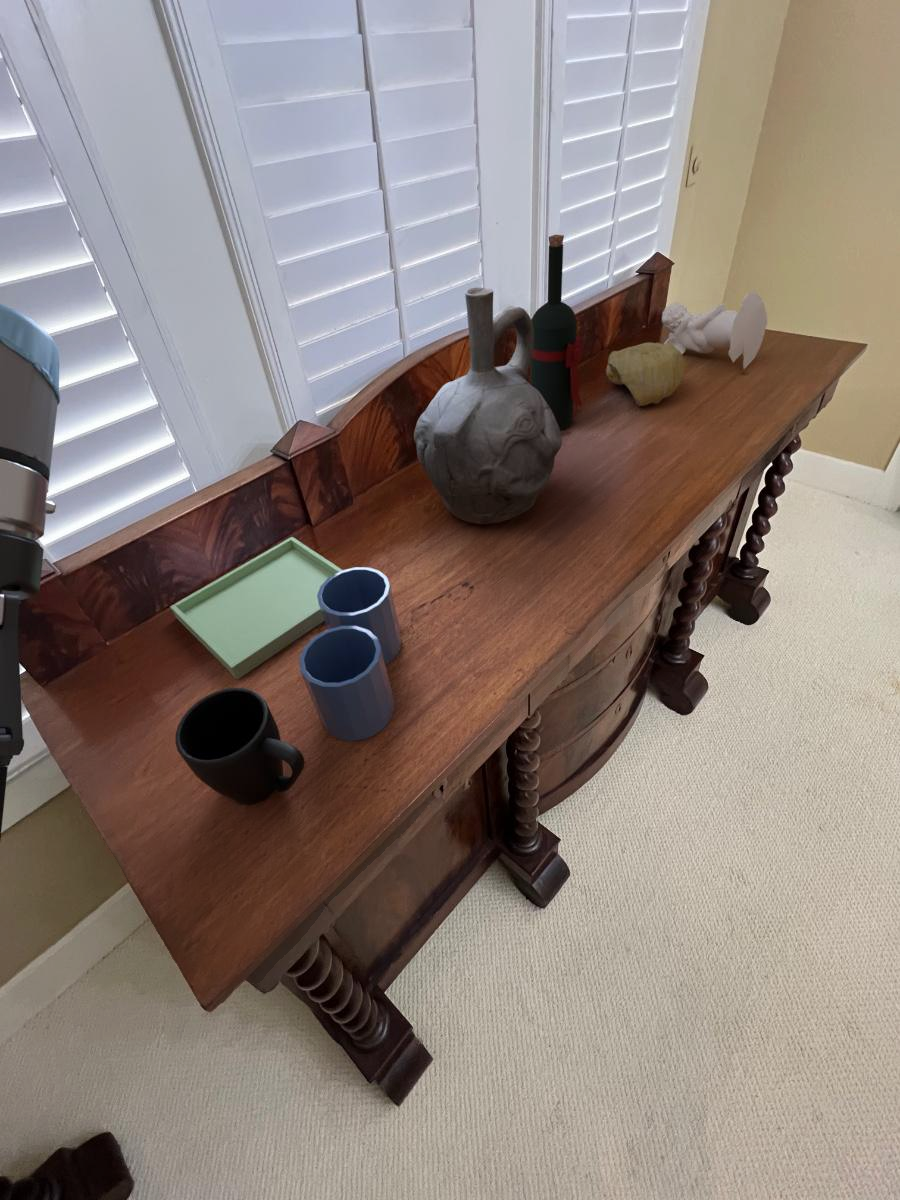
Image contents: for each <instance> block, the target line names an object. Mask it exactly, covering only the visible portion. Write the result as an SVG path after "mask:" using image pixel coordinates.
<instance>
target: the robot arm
mask: <svg viewBox="0 0 900 1200" xmlns="http://www.w3.org/2000/svg"><path fill="white" fill-rule="evenodd" d="M60 394H61V393H60V354H59V349H58V346H57V344H56V343H55V340H54V339H53V337H52V336H51V335H50V333H48V331H47V330H46V329H45V328H44V327H42V326H41V325H40V324H39V323H38V322H36V321H35V320H33V319H32V318H31V317H29V316H27V315H26V314H24V313H22V312H20V311H19V310H17V309H14V308H11V307H9V306H7V305H4V304H1V303H0V841H2V840H1V839H2V829H3V819H4V809H5V798H6V791H7V790H6V788H7V778H8V769H9V766H10V764H11V762H12V759H13V758H14V757H15V756H20V755H21V753H22V751H23V749H24V746H25V739H24V732H23V711H22V710H23V709H22V692H21V691H22V690H21V689H22V688H21V669H20V668H21V666H20V647H19V620H20V619H19V618H20V610H21V608H22V601H21V600H27V599H28V600H29V599H31V598H33V597H36V596H37V595H38V594H39V592H40V590H41V582H42V571H43V559H44V548H43V547H42V546H41V544H40V543H39V542H38V541H37V540H39V539H40V538H42V537H43V536H45V528H46V518H47V515H53V514H54V513H55V512H56V508H57V504H56V503H55V502H54V501H51V500H49V499H47V496H48V493H49V486H50V485H49V484H50V476H51V474H50V473H51V467H52V466H51V465H52V459H53V458H52V457H53V450H54V449H53V448H54V439H55V431H56V424H57V423H56V421H57V413H58V406H59V404H60V402H61V395H60Z"/></svg>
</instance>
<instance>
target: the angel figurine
mask: <svg viewBox="0 0 900 1200" xmlns="http://www.w3.org/2000/svg"><path fill="white" fill-rule="evenodd" d="M725 309H726V304H725V303H721V304H718V305H717V306H715V307H714V308H712V309H710V310H708V311H707V312H706V313H705V312H704V313H703V314H701V313H695V314H692V313H691V312H688V307H687V306H684V305H683V304H681V303H679V302H677V301H674V302H671V303H670V304H668V306H666V307H664V309H663V311H662V314H661V322H662V324H663V325H664V328H667V329H669V331H672V332H670V333H669V334H668V338H667V339H666V340H665V341H664V343H663V344H668V343H670V344H672V345H673V346H674V347H675V348H677V349H678V350H679V351H680V352H681V354H682V355H684V353H685V352H686V351H687V350H690V351H694V352H697V353H700V354H710V353H712V352H713V351H714V350H715V348H716V349H721V350H724V349H725V350H727V349H729V350H728V351H727V352H728V357H729V358H730V359H731V361H732V363H735V361H736V360H737V359H738V358H739V357H740V356H741V355H742V356H743V361H742V369H743V370H745V369H746V368H747V367H748V366H749V365H750V364H751V363H752V362H753V360H755V358H756V357H757V355H758V352H759V350H760V348H761V346H762V343H763V340H764V337H765V332H766V329H767V325H768V313H767V310H766V307H765V304H764V302H763V299H762V298H761V296H760V295H759V294H758V293H756V289H753V290H751V291H750V292H749V293H748V292H746V294H745V295H744V297H743V299H742V305H741V306H740V309H739V310H738V311H736V310H734V309H727V310H725Z"/></svg>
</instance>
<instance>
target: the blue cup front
mask: <svg viewBox="0 0 900 1200" xmlns="http://www.w3.org/2000/svg"><path fill="white" fill-rule="evenodd" d="M298 664H299V670H300V674H301V676H302V679H303V681H304V684H305V686H306V689H307V691H308V693H309V695H310V698H311V702H312V703H313V706H314V708H315V711H316V713H317V716H318V718H319V721H320V723H321V724H322V726H323V728H324V729H325V731H326V733H328V734H329V735H330V736H332V737H334V738H336V739H338V740H341V741H345V742H358V741H362V740H366V739H369V738H371V737H374V736H375V735H376V734H378V733H380V732H381V731H383V729H385V727H387V725H388V724H389V723H390V721H391V719H392V717H393V715H394V712H395V698H394V694H393V690H392V686H391V682H390V678H389V675H388V670H387V667H386V665H385V662H384V658H383V654H382V650H381V647H380V644H379V640H378V638H377V637H376V636H375V635H374V634H373V633H372V632H370V631H369V630H367V629H364V628H361V627H358V626H339V627H335V628H332V629H328V630H327V629H326V630H324V631H322V632H321V633H319V634H317V635H316V636H314V637H312V638H311V639H310V641H308V643H307V644H305V646H304V647H303V648H302V651H301V654H300V657H299V659H298Z"/></svg>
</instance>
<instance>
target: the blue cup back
mask: <svg viewBox="0 0 900 1200" xmlns="http://www.w3.org/2000/svg"><path fill="white" fill-rule="evenodd" d="M317 598H318V603H319V607H320V609H321V612H322V615H323V618H324V621H323V622H324V625H325V627H326V630H328V629H332V628H335V627H339V626H358V627H361V628H364V629H367V630H369V631H370V632H372V633H373V634H374V635H375V636H376V637H377V638H378V640H379V644H380V647H381V650H382V654H383V658H384V662H385V666H386V665H388V664H389V663H391V662H392V661H393V660H394V659H395V658H396V657H397V655H398V654H399V652H400V650H401V648H402V634H401V629H400V625H399V619H398V615H397V610H396V605H395V600H394V595H393V592H392V587H391V583H390V581H389V578H388V576H387V575H385V574H384V573H383V572H381V571H380V570H379V569H376V568H372V567H369V566H363V567H362V566H359V567H355V566H354V567H351V568H347V569H342V571H340V572H338V573H336V574H334V575H332V576H331V577H329V578H328V579H327V580H326V581H325V582H324V583H323V584H322V585H321V586H320V589H319V592H318V594H317Z"/></svg>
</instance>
